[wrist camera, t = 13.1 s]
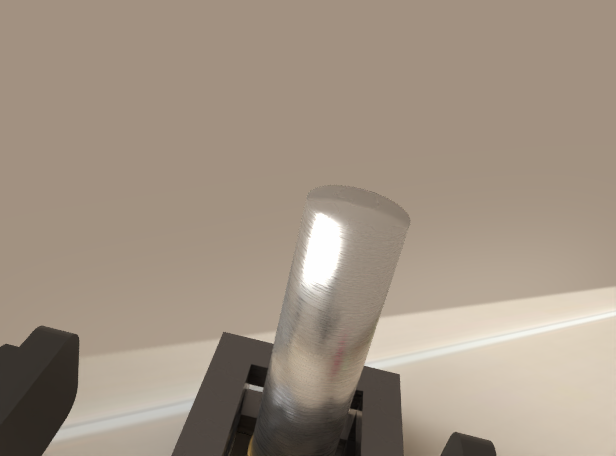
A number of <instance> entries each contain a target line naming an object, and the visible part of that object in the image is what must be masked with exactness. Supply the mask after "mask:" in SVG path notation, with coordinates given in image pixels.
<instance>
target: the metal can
mask: <svg viewBox="0 0 616 456" xmlns="http://www.w3.org/2000/svg"><path fill="white" fill-rule="evenodd" d="M409 225H410V218H409V215H408V214H407V212H406V211H405V210H404V209H403V208H402V207H400V206H399V205H398V204H396V203H395V202H393V201H391V200H390V199H388V198H386V197H384V196H381V195H379V194H377V193H374V192H371V191H368V190H364V189H360V188H355V187H350V186H342V185H328V186H322V187H317V188H315V189H313V190H311V191H310V192H309V193H308V195H307V199H306V203H305V207H304V212H303V216H302V221H301V225H300V230H299V234H298V239H297V243H296V247H295V252H294V256H293V261H292V265H291V270H290V274H289V279H288V283H287V288H286V292H285V297H284V301H283V305H282V310H281V314H280V319H279V323H278V328H277V332H276V336H275V341H274V345H273V350H272V354H271V359H270V363H269V368H268V372H267V376H266V381H265V385H264V390H263V394H262V399H261V403H260V408H259V412H258V416H257V421H256V425H255V430H254V433H253V435H252V437H251V440H250V444H249V448H248V453H247V456H334V455H335V452H336V449H337V446H338V443H339V440H340V437H341V434H342V431H343V428H344V425H345V421H346V418H347V415H348V412H349V409H350V406H351V403H352V400H353V397H354V394H355V391H356V388H357V385H358V382H359V379H360V376H361V372H362V369H363V366H364V363H365V360H366V357H367V354H368V351H369V348H370V345H371V342H372V339H373V336H374V333H375V330H376V326H377V323H378V320H379V317H380V314H381V311H382V308H383V305H384V302H385V299H386V296H387V293H388V290H389V286H390V284H391V280H392V277H393V274H394V271H395V268H396V265H397V262H398V259H399V256H400V253H401V250H402V247H403V244H404V241H405V238H406V234H407V231H408V228H409Z"/></svg>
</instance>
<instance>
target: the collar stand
mask: <svg viewBox="0 0 616 456" xmlns="http://www.w3.org/2000/svg"><path fill="white" fill-rule="evenodd" d="M273 345H274V344H272V343H267V342H263V341H259V340H255V339H251V338H247V337H243V336H239V335H234V334H230V333H226V332H223V334H222V337H221V339H220V342H219V344H218V346H217V349H216V351H215V353H214V356H213V358H212V361H211V363H210V365H209V368H208V370H207V373H206V375H205V377H204V380H203V382H202V384H201V387H200V389H199V392H198V394H197V396H196V399H195V401H194V403H193V406H192V408H191V411H190V413H189V415H188V418H187V420H186V422H185V425H184V427H183V430H182V432H181V434H180V437H179V439H178V441H177V444H176V446H175V449H174V451H173V453H172V456H230V454H231V451H232V447H233V444H234V441H235V437H236V434H237V432H241V433H245V434H249V435H253V433H254V430H255V425H256V421H257V416H258V412H259V408H260V403H261V399H262V394H263V392H259V391H255V390H251V389H249V384H251V385H255V386H260V387H264V385H265V381H266V376H267V372H268V368H269V363H270V359H271V354H272V350H273ZM334 456H404V455H403V434H402V414H401V393H400V374H395V373H391V372H387V371H383V370H379V369H375V368H371V367H367V366H363V369H362V372H361V376H360V379H359V382H358V385H357V388H356V391H355V394H354V397H353V400H352V403H351V406H350V411H349V413H348V415H347V418H346V421H345V425H344V428H343V431H342V434H341V437H340V440H339V443H338V446H337V449H336V452H335V455H334Z"/></svg>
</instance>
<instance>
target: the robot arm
mask: <svg viewBox="0 0 616 456" xmlns="http://www.w3.org/2000/svg"><path fill="white" fill-rule="evenodd" d="M78 365H79V337H78V335H77V334H73V333H69V332H65V331H61V330H57V329H53V328H49V327H45V326H39V327H38V328H36V329H35V330H34V331H33V332H32V333H31V334H30V336H29V337H28V338H27V339H26V340H25V341H24V342H23V343H22V344H21V346H20V347H16V346H12V345H9V344H5V345H3V346H1V347H0V456H42V454H43V453H44V451H45V450H46V448H47V447H48V445H49V444H50V442H51V441H52V439H53V438H54V436H55V435H56V433H57V432H58V430H59V429H60V427H61V425H62V424H63V422H64V421H65V419H66V418H67V416H68V414H69V413H70V410H71V408H72V406H73V403H74V401H75V397H76V394H77V388H78ZM441 456H496V451H495V448H494V445H493V443H492V442H491V441H489V440H485V439H481V438H477V437H473V436H469V435H465V434H461V433H457V432H454V433H453V434H452V435H451V436H450V438H449V440H448V442H447V444H446V446H445V448H444V450H443V452H442V454H441Z"/></svg>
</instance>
